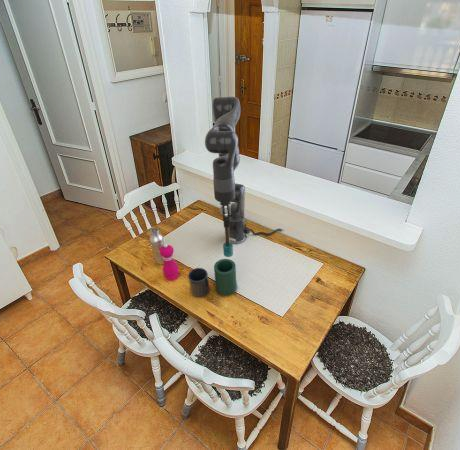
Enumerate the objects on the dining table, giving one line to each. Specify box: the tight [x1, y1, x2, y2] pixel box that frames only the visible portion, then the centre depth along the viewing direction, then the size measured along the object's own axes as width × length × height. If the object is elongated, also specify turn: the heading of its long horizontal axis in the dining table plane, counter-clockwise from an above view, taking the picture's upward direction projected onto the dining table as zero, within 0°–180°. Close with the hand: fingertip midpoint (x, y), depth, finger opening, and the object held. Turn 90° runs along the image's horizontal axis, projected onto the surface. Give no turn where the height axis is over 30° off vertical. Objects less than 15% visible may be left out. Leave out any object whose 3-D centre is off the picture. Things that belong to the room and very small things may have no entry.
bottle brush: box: [222, 227, 234, 258], centre depth 125 cm, size 4×4×22 cm
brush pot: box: [187, 267, 210, 298], centre depth 141 cm, size 8×8×10 cm
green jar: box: [213, 258, 237, 297], centre depth 140 cm, size 9×9×14 cm
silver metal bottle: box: [148, 227, 165, 265], centre depth 153 cm, size 6×7×20 cm
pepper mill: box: [160, 243, 180, 282], centre depth 145 cm, size 7×7×20 cm
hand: (226, 225), depth 123 cm, fingers closed on bottle brush
